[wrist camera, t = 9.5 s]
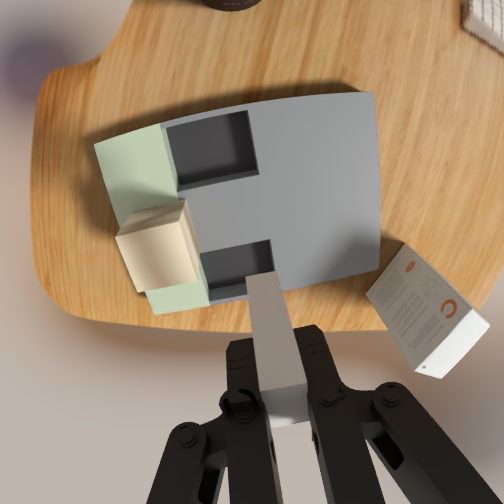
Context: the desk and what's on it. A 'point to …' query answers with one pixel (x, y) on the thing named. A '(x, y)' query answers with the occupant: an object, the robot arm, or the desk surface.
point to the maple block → (160, 246)
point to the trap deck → (259, 191)
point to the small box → (425, 313)
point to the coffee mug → (231, 4)
